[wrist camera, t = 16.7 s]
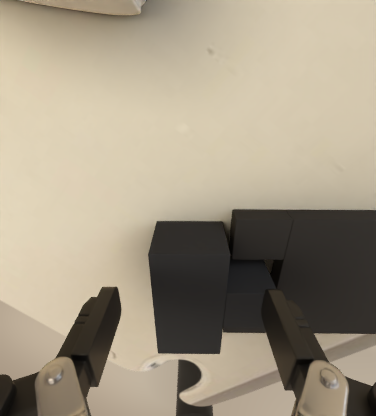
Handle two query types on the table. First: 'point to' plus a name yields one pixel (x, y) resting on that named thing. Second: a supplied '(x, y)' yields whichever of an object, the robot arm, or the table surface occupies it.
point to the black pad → (315, 263)
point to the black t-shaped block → (201, 287)
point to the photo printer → (96, 5)
